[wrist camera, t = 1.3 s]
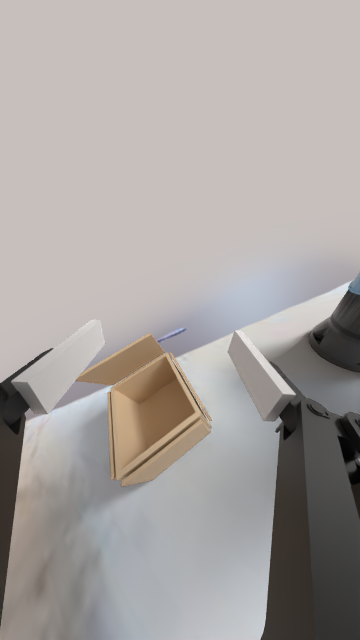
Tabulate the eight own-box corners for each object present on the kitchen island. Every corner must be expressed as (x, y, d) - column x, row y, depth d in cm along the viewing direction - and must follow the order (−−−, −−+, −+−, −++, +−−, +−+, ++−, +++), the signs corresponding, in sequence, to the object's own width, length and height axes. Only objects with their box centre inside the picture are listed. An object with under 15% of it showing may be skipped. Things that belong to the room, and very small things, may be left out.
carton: (183, 372, 43) (170, 350, 35) (217, 428, 30) (209, 416, 22) (134, 405, 40) (106, 390, 31) (149, 484, 27) (110, 494, 19)
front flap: (163, 350, 35) (150, 332, 25) (164, 352, 35) (151, 334, 24) (112, 383, 32) (72, 377, 22) (112, 385, 32) (73, 380, 22)
